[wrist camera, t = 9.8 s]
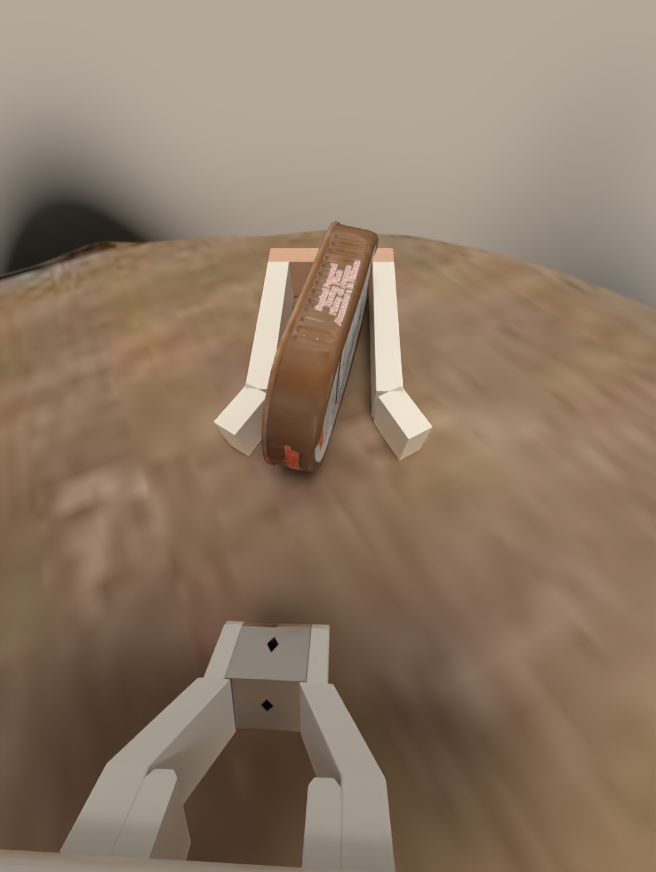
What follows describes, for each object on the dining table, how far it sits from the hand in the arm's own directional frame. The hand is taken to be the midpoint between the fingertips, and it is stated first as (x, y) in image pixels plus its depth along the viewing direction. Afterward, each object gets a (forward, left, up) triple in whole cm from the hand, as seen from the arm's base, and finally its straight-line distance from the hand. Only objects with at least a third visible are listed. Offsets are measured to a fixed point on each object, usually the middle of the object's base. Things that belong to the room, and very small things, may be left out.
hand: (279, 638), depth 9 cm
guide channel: (+1, +17, -7) cm, 19 cm away
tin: (+1, +14, -8) cm, 16 cm away
